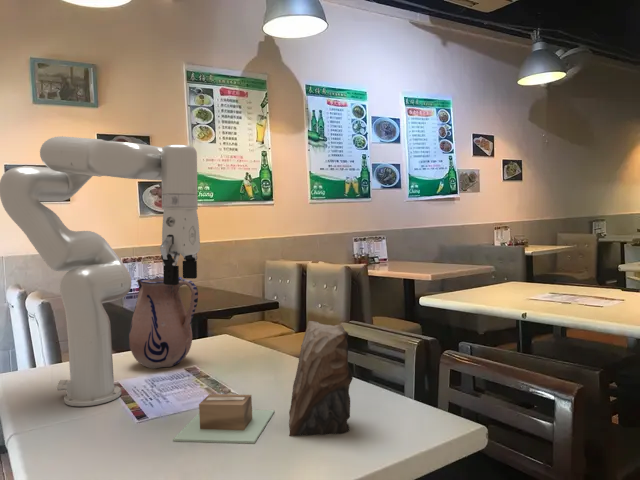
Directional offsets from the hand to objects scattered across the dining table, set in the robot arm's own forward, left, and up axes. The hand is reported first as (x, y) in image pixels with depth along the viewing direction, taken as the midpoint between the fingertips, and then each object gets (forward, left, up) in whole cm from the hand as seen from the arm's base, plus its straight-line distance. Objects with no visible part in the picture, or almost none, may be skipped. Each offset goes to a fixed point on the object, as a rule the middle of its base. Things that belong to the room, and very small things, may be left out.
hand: (180, 281), depth 121 cm
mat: (+12, -9, -28) cm, 32 cm away
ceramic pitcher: (-20, +35, -29) cm, 49 cm away
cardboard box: (+12, -9, -28) cm, 32 cm away
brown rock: (+30, -8, -29) cm, 42 cm away
